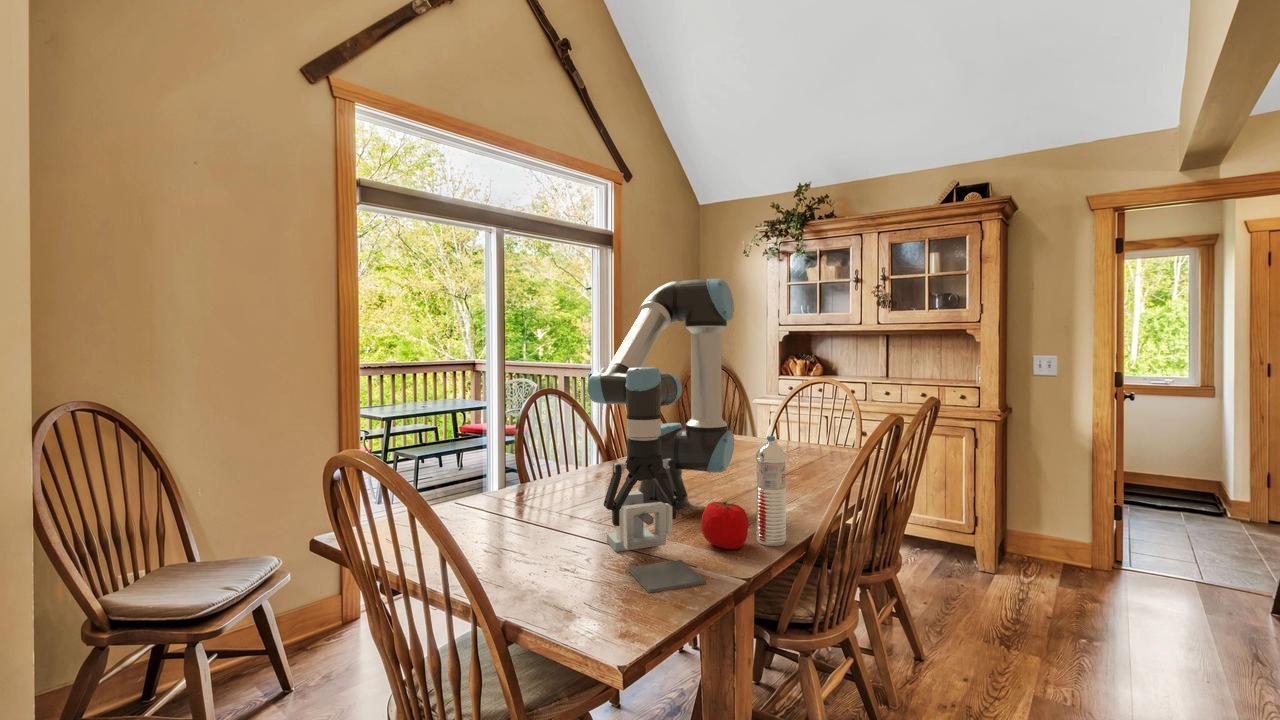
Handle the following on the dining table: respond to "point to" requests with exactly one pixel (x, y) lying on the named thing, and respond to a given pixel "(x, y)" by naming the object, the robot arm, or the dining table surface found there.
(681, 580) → the coaster
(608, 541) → the stand
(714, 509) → the tomato
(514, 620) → the dining table surface
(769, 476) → the water bottle
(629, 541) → the square ring
